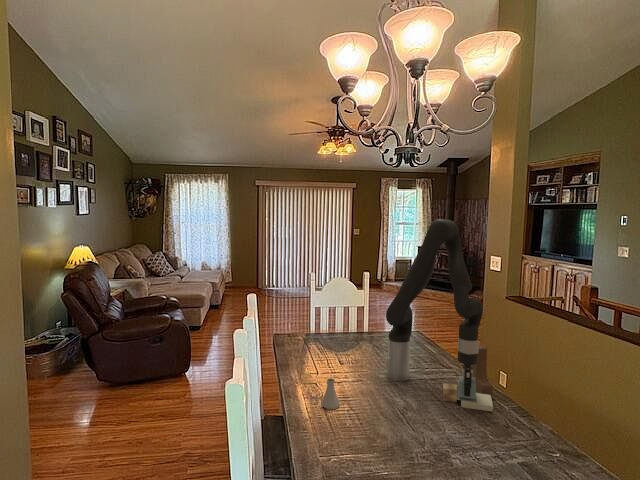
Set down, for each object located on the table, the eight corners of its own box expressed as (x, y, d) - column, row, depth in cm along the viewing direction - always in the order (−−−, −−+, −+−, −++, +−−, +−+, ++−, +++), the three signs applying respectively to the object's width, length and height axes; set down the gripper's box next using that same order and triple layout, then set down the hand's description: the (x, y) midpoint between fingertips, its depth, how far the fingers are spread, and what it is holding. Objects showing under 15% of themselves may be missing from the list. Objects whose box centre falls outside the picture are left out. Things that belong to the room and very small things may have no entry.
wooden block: (492, 396, 160) (493, 351, 159) (481, 396, 159) (483, 352, 158) (480, 386, 169) (481, 344, 167) (470, 387, 168) (471, 345, 167)
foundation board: (456, 406, 151) (456, 401, 151) (456, 395, 160) (456, 390, 160) (492, 411, 147) (493, 406, 147) (490, 399, 156) (490, 394, 156)
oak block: (443, 400, 156) (443, 388, 155) (443, 395, 160) (443, 383, 160) (456, 402, 154) (456, 390, 154) (456, 397, 159) (456, 384, 158)
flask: (342, 403, 153) (342, 377, 152) (336, 411, 146) (337, 385, 146) (324, 400, 155) (324, 375, 155) (318, 408, 149) (318, 382, 148)
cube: (458, 396, 152) (459, 381, 152) (458, 390, 158) (458, 375, 158) (475, 399, 150) (476, 383, 150) (474, 392, 156) (475, 377, 156)
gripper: (457, 343, 161) (456, 383, 162) (457, 354, 147) (456, 399, 148) (477, 345, 159) (476, 386, 160) (479, 357, 145) (478, 402, 146)
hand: (466, 392), depth 154 cm, fingers closed on cube, 5 cm apart
